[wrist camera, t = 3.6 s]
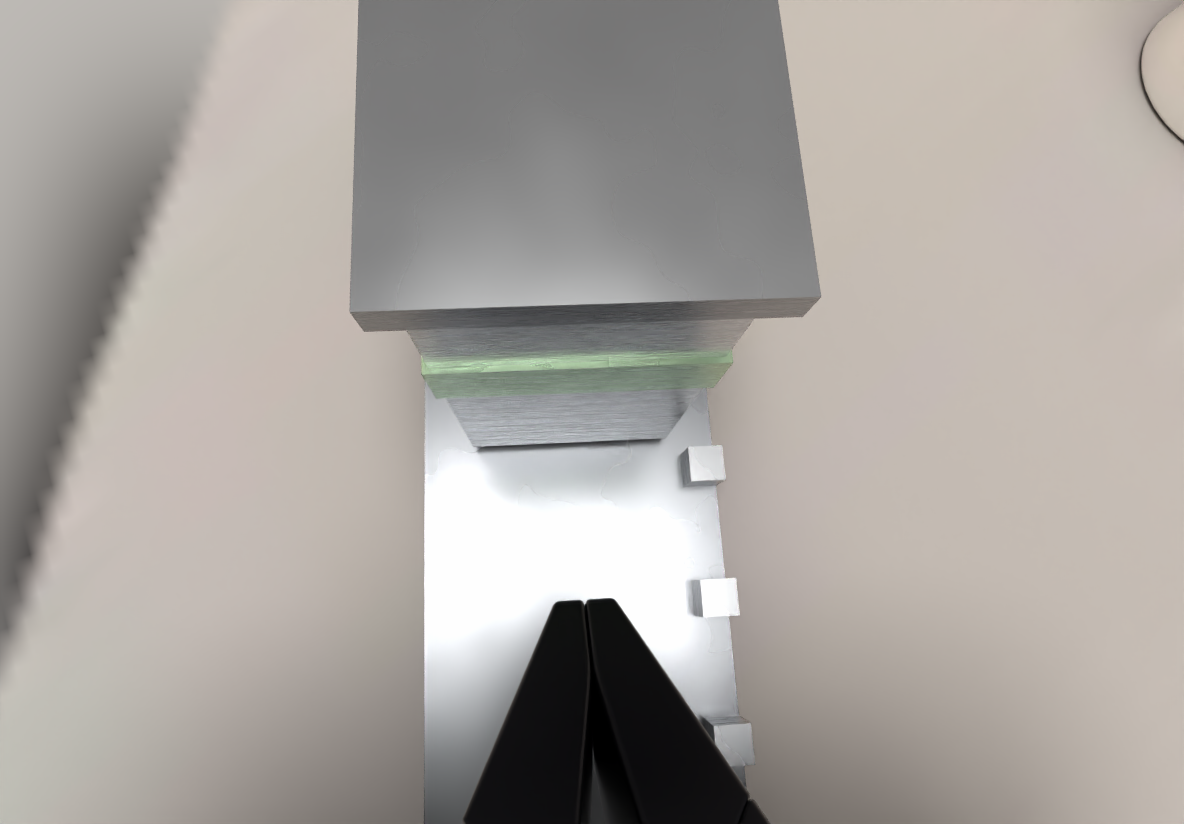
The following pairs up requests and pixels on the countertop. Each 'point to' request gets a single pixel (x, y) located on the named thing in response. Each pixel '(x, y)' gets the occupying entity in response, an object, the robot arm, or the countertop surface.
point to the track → (567, 579)
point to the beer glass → (1166, 69)
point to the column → (575, 204)
